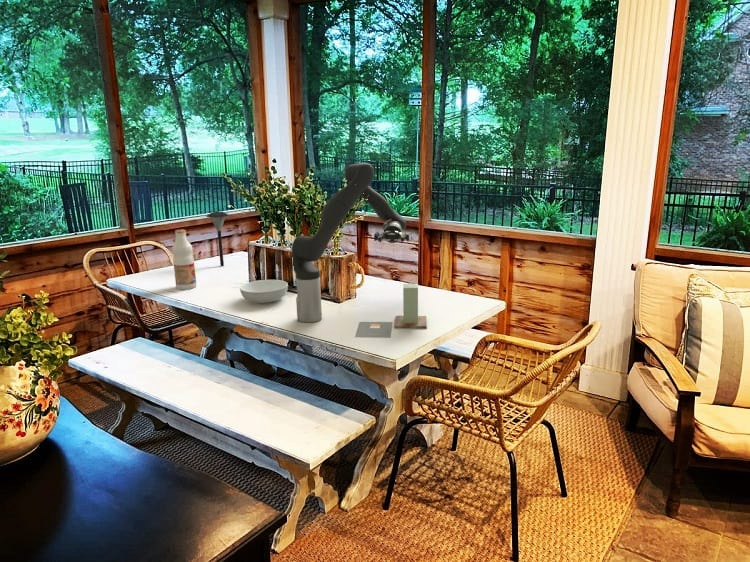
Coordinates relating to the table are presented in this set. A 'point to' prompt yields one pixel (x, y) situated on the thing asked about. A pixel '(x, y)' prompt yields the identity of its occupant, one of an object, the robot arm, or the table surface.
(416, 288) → the sage block
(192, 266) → the fruit juice
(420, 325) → the walnut pad
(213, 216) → the solar garden light
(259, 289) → the serving bowl
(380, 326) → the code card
